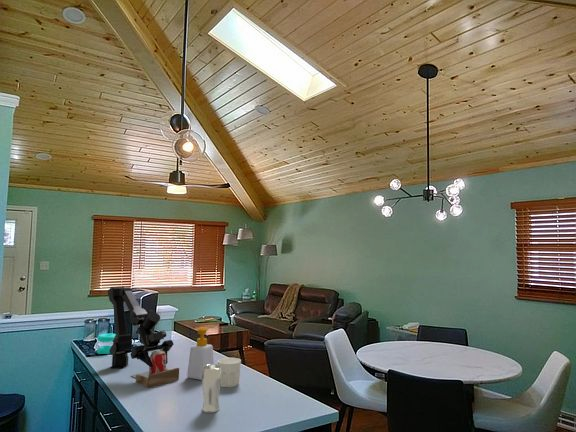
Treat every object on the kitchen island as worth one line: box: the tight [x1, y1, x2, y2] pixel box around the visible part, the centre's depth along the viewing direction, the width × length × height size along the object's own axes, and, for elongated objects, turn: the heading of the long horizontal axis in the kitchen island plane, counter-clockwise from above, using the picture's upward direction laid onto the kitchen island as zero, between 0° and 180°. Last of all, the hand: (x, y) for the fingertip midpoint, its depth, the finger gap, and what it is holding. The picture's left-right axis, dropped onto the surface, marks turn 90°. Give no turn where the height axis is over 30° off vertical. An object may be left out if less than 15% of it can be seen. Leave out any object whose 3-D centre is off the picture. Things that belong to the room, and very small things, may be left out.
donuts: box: [96, 332, 116, 355], centre depth 222 cm, size 10×10×10 cm
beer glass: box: [201, 363, 221, 414], centre depth 144 cm, size 7×7×15 cm
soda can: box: [148, 350, 167, 375], centre depth 175 cm, size 7×7×12 cm
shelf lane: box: [135, 367, 180, 389], centre depth 175 cm, size 11×14×5 cm
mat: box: [130, 370, 149, 379], centre depth 181 cm, size 9×9×1 cm
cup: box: [217, 357, 242, 388], centre depth 172 cm, size 10×10×10 cm
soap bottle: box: [186, 326, 215, 381], centre depth 184 cm, size 10×14×22 cm
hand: (159, 365), depth 174 cm, fingers closed on soda can, 7 cm apart
